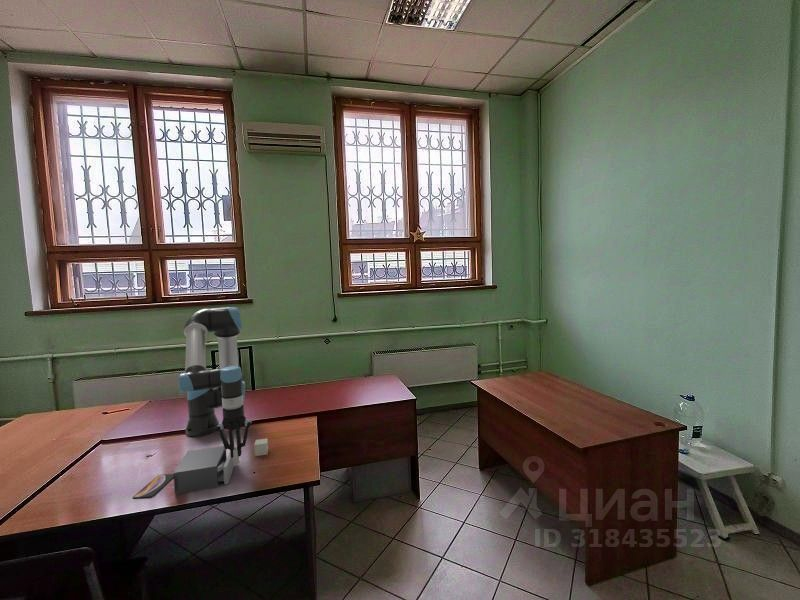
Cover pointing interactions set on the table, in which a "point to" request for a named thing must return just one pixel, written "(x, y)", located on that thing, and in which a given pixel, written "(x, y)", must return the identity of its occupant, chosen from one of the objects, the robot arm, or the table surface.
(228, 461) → the tray
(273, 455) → the table surface
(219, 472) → the disc
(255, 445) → the pedestal
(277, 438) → the table surface
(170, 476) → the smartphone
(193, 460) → the housing
